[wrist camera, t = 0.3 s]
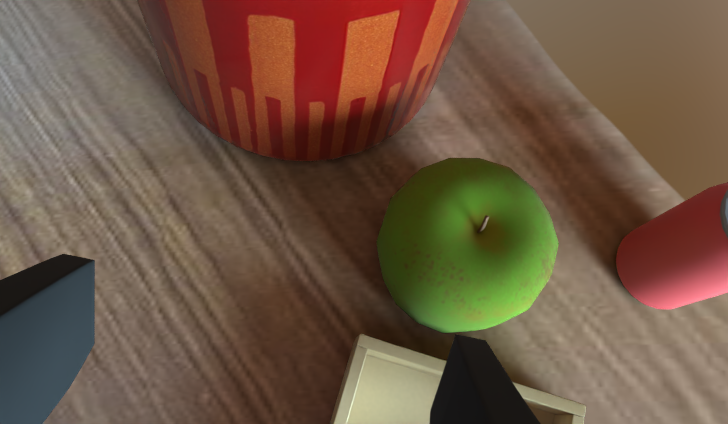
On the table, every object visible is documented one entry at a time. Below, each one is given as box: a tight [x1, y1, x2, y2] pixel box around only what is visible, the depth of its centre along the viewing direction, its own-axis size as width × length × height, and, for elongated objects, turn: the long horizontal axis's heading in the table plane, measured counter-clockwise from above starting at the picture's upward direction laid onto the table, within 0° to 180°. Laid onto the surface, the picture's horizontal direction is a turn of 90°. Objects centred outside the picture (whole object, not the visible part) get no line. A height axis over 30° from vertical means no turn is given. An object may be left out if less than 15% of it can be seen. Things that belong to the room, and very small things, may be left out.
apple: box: [377, 158, 559, 333], centre depth 39 cm, size 11×11×11 cm
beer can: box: [616, 182, 728, 309], centre depth 41 cm, size 7×7×12 cm
